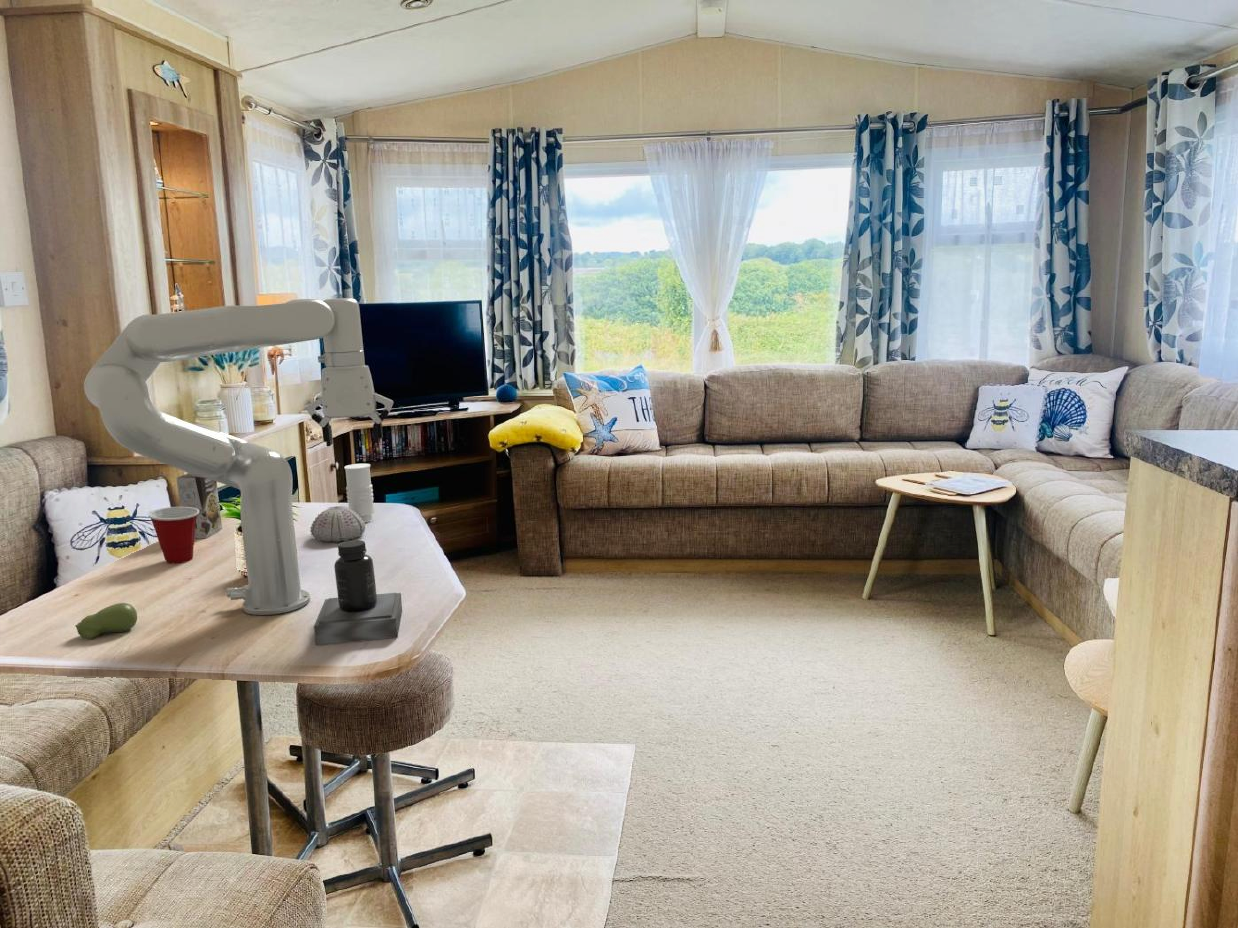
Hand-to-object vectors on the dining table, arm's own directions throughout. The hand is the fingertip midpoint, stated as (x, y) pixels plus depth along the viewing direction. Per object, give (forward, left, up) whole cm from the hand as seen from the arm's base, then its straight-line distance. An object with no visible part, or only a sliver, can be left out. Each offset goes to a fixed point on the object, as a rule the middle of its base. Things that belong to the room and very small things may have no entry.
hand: (353, 443), depth 187 cm
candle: (-6, +56, -30) cm, 64 cm away
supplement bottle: (+1, -26, -26) cm, 37 cm away
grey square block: (+2, -26, -30) cm, 40 cm away
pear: (-45, -17, -30) cm, 57 cm away
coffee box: (-46, +54, -30) cm, 77 cm away
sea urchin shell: (-10, +40, -30) cm, 51 cm away
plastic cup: (-45, +30, -30) cm, 62 cm away
